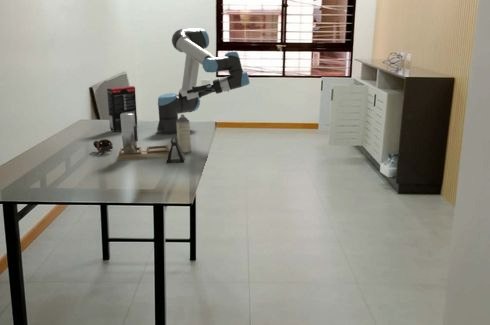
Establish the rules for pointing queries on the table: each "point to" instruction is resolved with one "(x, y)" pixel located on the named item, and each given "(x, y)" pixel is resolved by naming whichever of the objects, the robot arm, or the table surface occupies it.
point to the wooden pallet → (145, 153)
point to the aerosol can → (183, 134)
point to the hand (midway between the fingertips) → (184, 95)
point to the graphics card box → (121, 105)
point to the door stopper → (177, 151)
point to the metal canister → (129, 132)
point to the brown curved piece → (103, 145)
